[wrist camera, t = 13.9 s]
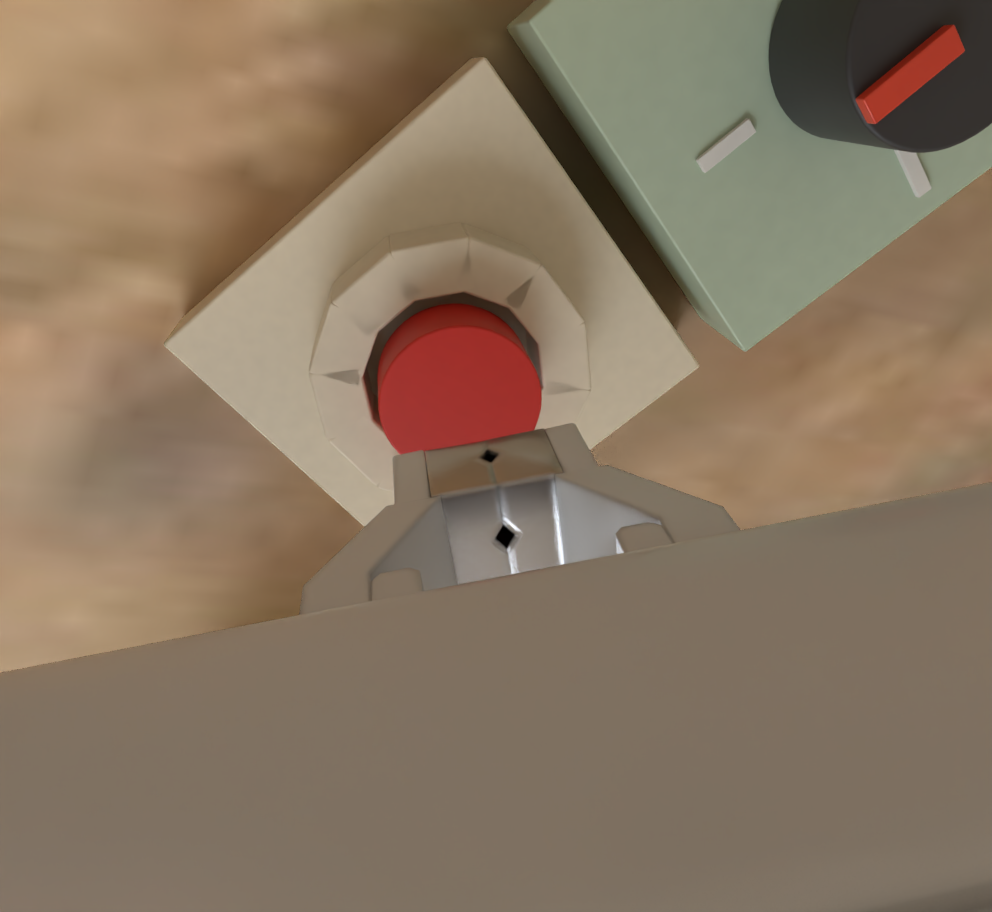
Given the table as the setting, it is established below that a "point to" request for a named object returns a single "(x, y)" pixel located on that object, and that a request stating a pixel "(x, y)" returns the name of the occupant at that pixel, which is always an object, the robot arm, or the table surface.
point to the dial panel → (727, 154)
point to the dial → (885, 70)
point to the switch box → (430, 291)
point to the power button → (455, 380)
